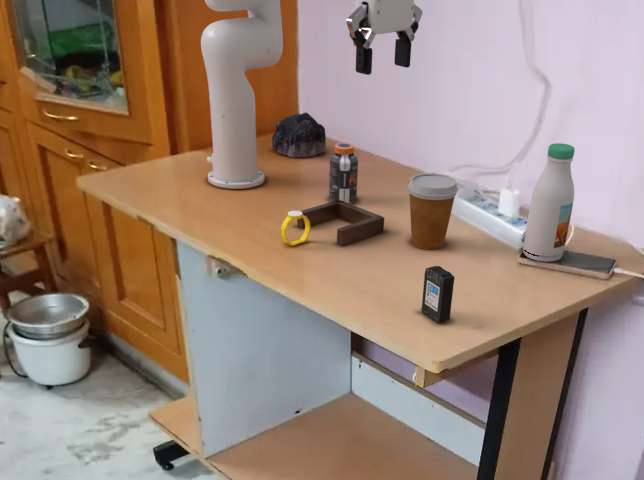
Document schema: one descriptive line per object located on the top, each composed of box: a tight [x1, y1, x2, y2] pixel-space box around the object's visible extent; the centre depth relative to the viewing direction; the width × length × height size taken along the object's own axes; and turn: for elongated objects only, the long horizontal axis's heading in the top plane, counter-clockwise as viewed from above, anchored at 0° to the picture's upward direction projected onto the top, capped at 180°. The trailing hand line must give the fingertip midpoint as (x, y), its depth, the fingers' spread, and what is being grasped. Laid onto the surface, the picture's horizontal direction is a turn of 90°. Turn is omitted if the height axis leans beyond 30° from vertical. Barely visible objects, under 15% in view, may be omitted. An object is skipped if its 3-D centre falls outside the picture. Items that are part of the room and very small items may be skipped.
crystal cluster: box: [271, 111, 327, 159], centre depth 205 cm, size 13×14×10 cm
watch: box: [280, 210, 312, 247], centre depth 159 cm, size 6×3×6 cm, turn 128°
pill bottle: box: [328, 142, 359, 204], centre depth 178 cm, size 6×6×11 cm
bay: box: [296, 200, 385, 247], centre depth 167 cm, size 13×12×3 cm
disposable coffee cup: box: [406, 172, 459, 250], centre depth 160 cm, size 10×10×12 cm
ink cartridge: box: [420, 265, 455, 324], centre depth 137 cm, size 5×2×8 cm, turn 32°
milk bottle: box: [522, 142, 576, 263], centre depth 156 cm, size 8×8×20 cm
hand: (383, 69), depth 145 cm, fingers open, 9 cm apart
